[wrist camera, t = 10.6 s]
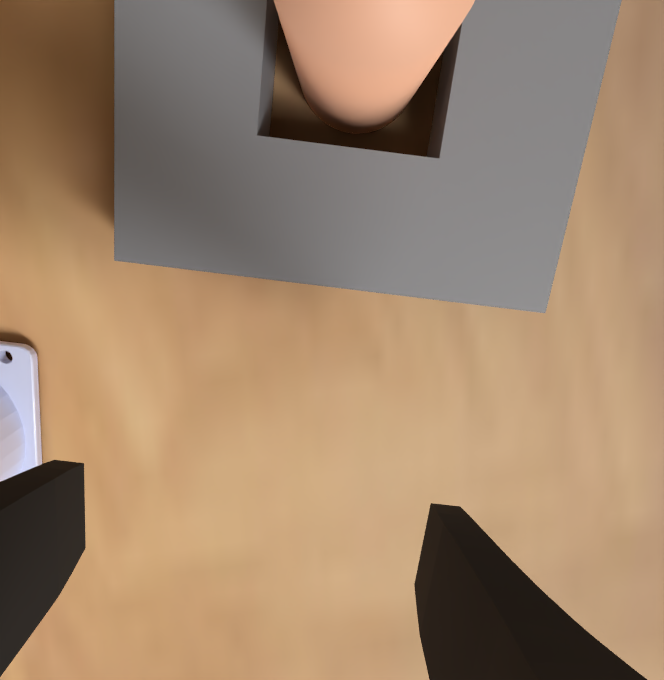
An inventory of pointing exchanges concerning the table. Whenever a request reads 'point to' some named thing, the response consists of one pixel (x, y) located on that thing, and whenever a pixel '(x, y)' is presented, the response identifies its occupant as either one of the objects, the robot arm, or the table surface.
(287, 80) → the table surface
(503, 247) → the hole board
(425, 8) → the peg
